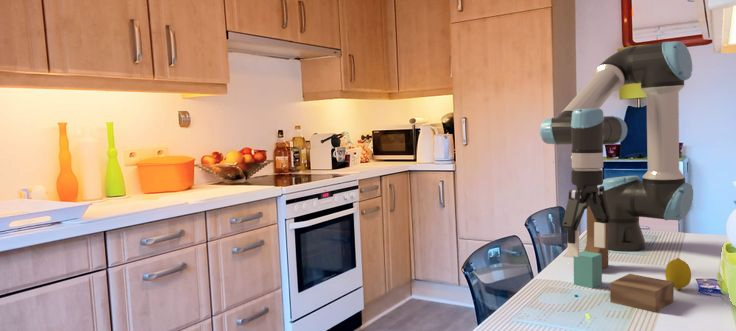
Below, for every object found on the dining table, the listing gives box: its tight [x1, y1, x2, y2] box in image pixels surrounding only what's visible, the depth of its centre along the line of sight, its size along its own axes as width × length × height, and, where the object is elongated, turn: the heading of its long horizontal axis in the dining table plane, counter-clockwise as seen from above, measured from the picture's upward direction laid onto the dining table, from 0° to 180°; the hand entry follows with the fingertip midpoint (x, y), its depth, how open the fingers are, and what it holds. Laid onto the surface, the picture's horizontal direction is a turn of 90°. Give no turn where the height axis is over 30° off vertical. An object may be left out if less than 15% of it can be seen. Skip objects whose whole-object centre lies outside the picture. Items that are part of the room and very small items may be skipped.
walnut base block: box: [609, 273, 675, 314], centre depth 126 cm, size 10×10×5 cm
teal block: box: [573, 250, 603, 289], centre depth 140 cm, size 5×5×8 cm
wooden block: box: [583, 205, 609, 270], centre depth 154 cm, size 9×4×18 cm, turn 131°
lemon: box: [664, 257, 692, 291], centre depth 133 cm, size 6×6×8 cm
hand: (586, 251), depth 140 cm, fingers open, 13 cm apart
